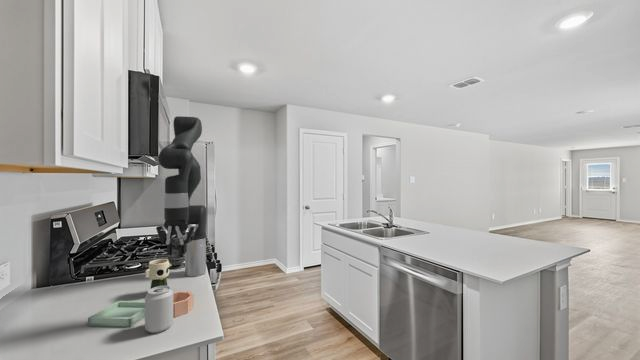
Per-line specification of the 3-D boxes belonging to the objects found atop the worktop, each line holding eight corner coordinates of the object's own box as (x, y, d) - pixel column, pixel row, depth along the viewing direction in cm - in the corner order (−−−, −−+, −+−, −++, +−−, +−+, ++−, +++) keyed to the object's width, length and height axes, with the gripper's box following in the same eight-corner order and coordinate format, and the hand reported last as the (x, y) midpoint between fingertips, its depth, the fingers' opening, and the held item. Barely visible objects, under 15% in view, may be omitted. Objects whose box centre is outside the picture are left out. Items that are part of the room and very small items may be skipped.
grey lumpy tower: (168, 265, 95) (168, 232, 95) (186, 263, 98) (186, 230, 97) (166, 271, 90) (166, 235, 90) (186, 268, 92) (185, 234, 92)
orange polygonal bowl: (171, 303, 99) (171, 291, 99) (197, 303, 98) (197, 291, 98) (153, 317, 89) (153, 303, 89) (182, 317, 88) (182, 304, 88)
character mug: (151, 300, 101) (151, 266, 101) (139, 297, 104) (139, 264, 104) (177, 289, 111) (177, 258, 111) (165, 287, 114) (165, 256, 114)
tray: (118, 307, 96) (118, 300, 96) (156, 308, 95) (156, 301, 95) (87, 325, 84) (87, 318, 84) (131, 326, 83) (131, 319, 83)
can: (167, 318, 88) (167, 282, 88) (177, 326, 83) (177, 288, 83) (141, 328, 82) (141, 289, 82) (150, 337, 77) (150, 296, 77)
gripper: (201, 204, 97) (201, 252, 97) (163, 204, 98) (163, 251, 98) (190, 207, 89) (190, 258, 90) (149, 207, 90) (150, 257, 90)
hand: (176, 254), depth 94 cm, fingers closed on grey lumpy tower, 3 cm apart
